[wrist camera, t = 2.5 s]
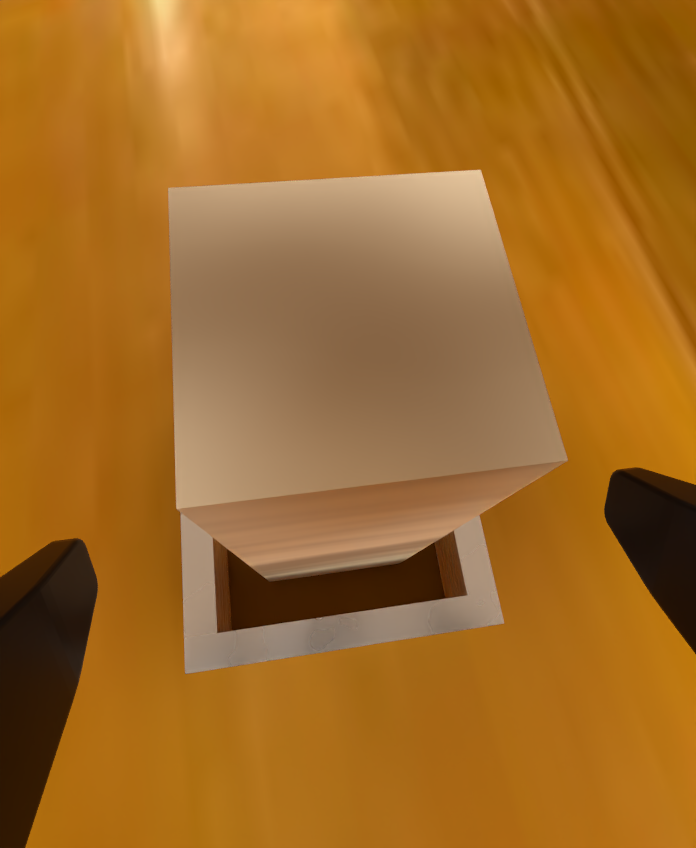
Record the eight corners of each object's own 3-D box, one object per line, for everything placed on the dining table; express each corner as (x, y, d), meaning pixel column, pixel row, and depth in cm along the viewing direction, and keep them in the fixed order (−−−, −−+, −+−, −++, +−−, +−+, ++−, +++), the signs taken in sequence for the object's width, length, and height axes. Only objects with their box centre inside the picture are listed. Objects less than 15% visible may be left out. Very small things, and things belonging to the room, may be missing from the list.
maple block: (399, 563, 20) (567, 459, 7) (269, 581, 19) (176, 509, 6) (378, 441, 21) (480, 169, 8) (259, 455, 21) (168, 187, 8)
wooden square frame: (476, 622, 19) (504, 623, 16) (204, 665, 18) (185, 673, 15) (425, 381, 23) (441, 348, 20) (194, 405, 21) (176, 374, 19)
